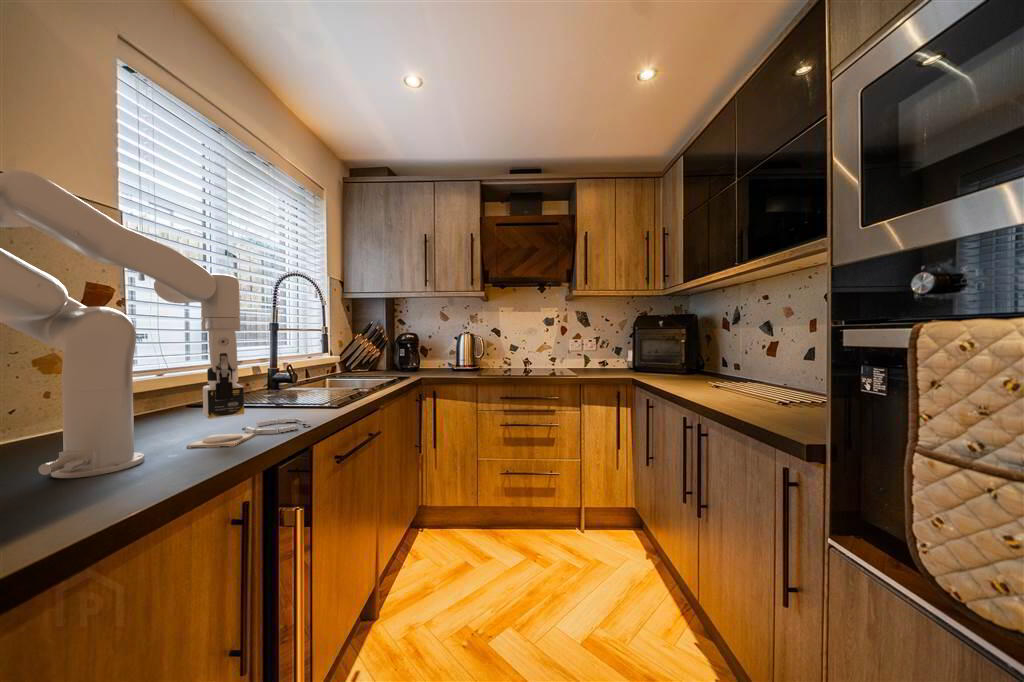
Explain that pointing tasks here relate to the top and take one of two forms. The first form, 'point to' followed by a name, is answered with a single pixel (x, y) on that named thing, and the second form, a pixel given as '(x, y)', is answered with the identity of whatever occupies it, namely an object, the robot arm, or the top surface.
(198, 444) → the cork pad
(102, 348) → the robot arm
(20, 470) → the top surface
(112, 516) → the top surface
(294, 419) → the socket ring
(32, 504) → the top surface
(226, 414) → the medicine bottle
